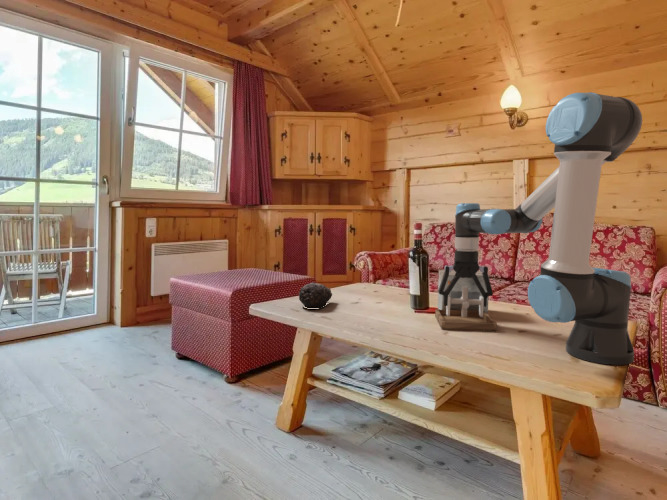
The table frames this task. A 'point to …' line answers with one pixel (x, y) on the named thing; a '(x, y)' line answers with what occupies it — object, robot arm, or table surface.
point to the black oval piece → (314, 295)
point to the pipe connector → (465, 301)
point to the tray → (465, 321)
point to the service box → (457, 291)
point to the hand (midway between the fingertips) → (464, 315)
